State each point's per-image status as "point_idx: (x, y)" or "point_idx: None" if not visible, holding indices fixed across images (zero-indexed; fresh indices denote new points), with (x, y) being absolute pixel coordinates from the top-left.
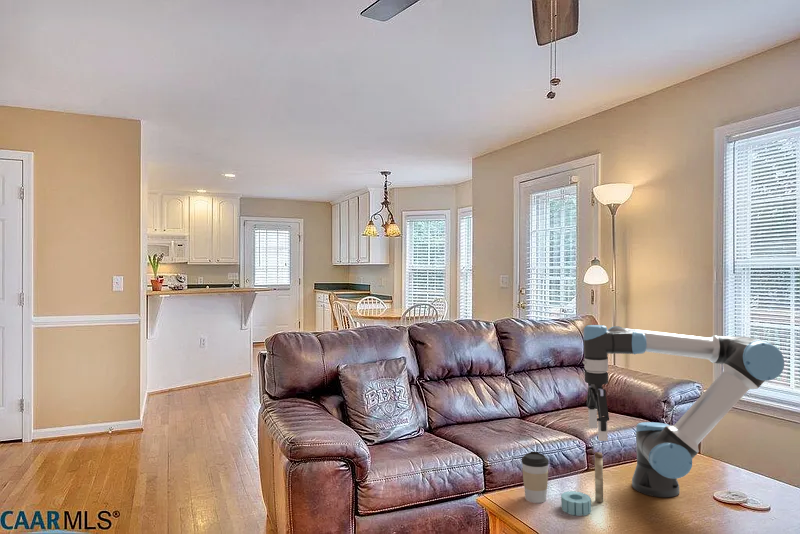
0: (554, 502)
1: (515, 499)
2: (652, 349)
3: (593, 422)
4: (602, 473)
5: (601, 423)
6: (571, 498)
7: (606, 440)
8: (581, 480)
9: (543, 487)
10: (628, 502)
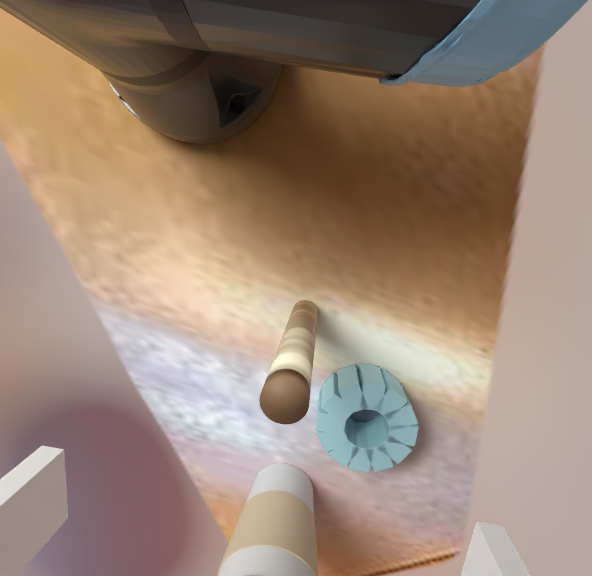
0: (310, 448)
1: None
2: None
3: (6, 543)
4: (309, 340)
5: None
6: (377, 447)
7: (502, 540)
8: (136, 309)
9: (312, 520)
10: (319, 216)
